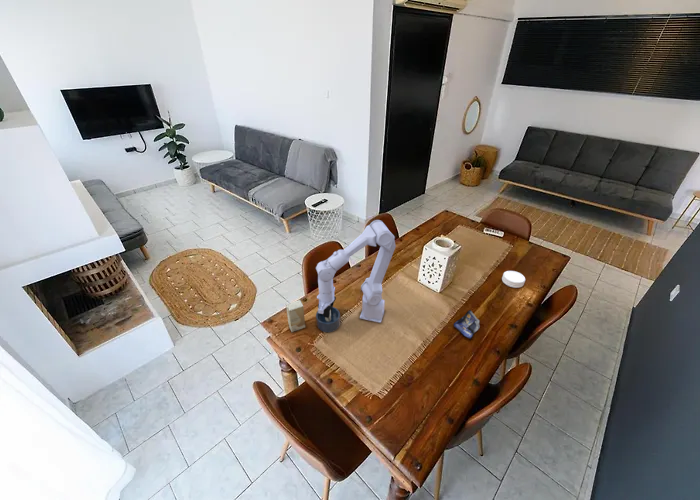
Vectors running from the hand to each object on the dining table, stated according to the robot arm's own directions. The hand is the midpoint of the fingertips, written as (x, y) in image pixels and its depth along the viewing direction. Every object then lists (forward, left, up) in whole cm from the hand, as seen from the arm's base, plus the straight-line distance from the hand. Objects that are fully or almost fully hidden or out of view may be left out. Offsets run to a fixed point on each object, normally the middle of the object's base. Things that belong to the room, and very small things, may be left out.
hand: (327, 314), depth 126 cm
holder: (0, 0, -5) cm, 5 cm away
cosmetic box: (+12, +5, -6) cm, 14 cm away
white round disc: (-79, -51, -6) cm, 94 cm away
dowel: (0, 0, -3) cm, 3 cm away
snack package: (-57, -13, -6) cm, 59 cm away
